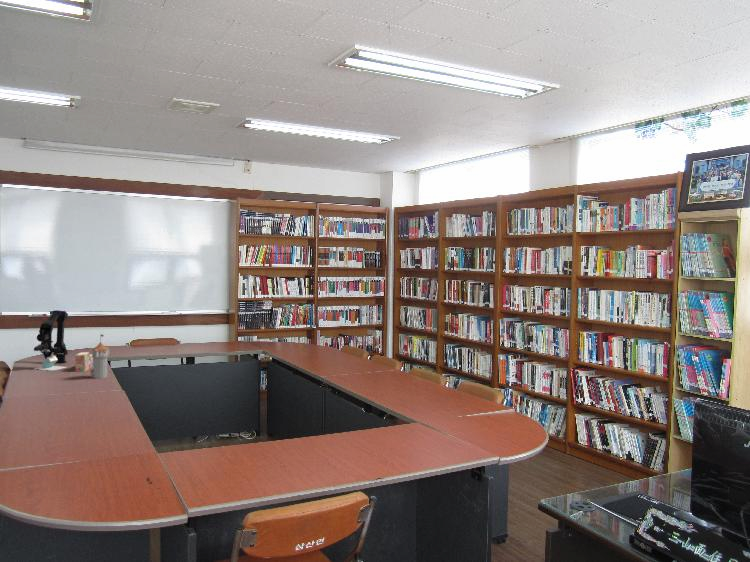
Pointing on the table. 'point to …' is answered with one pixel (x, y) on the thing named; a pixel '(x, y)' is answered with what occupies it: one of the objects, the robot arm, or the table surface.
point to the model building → (100, 361)
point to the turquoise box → (49, 362)
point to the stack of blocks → (83, 361)
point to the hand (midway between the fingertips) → (46, 360)
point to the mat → (51, 368)
